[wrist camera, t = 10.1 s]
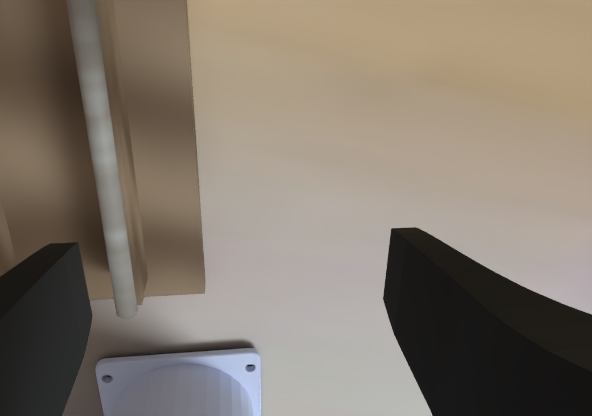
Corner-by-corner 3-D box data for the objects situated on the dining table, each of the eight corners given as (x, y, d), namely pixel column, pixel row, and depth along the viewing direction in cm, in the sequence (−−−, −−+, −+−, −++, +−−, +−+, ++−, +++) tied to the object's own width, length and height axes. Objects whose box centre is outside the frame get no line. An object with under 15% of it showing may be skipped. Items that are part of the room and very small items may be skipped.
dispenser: (205, 280, 24) (202, 333, 21) (-47, 294, 23) (-93, 353, 19) (173, -194, 16) (161, -233, 13) (-212, -216, 15) (-339, -267, 12)
